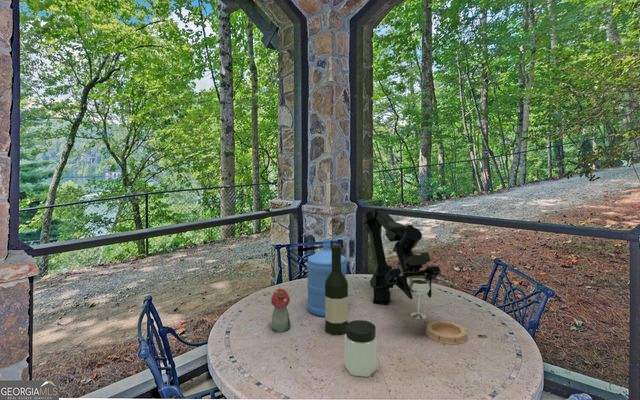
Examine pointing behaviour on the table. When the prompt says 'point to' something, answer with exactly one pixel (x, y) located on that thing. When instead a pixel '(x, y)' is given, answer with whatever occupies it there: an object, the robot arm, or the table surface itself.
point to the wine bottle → (336, 296)
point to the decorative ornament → (280, 311)
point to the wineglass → (419, 292)
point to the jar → (361, 348)
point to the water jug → (320, 277)
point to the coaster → (446, 332)
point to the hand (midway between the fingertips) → (421, 298)
